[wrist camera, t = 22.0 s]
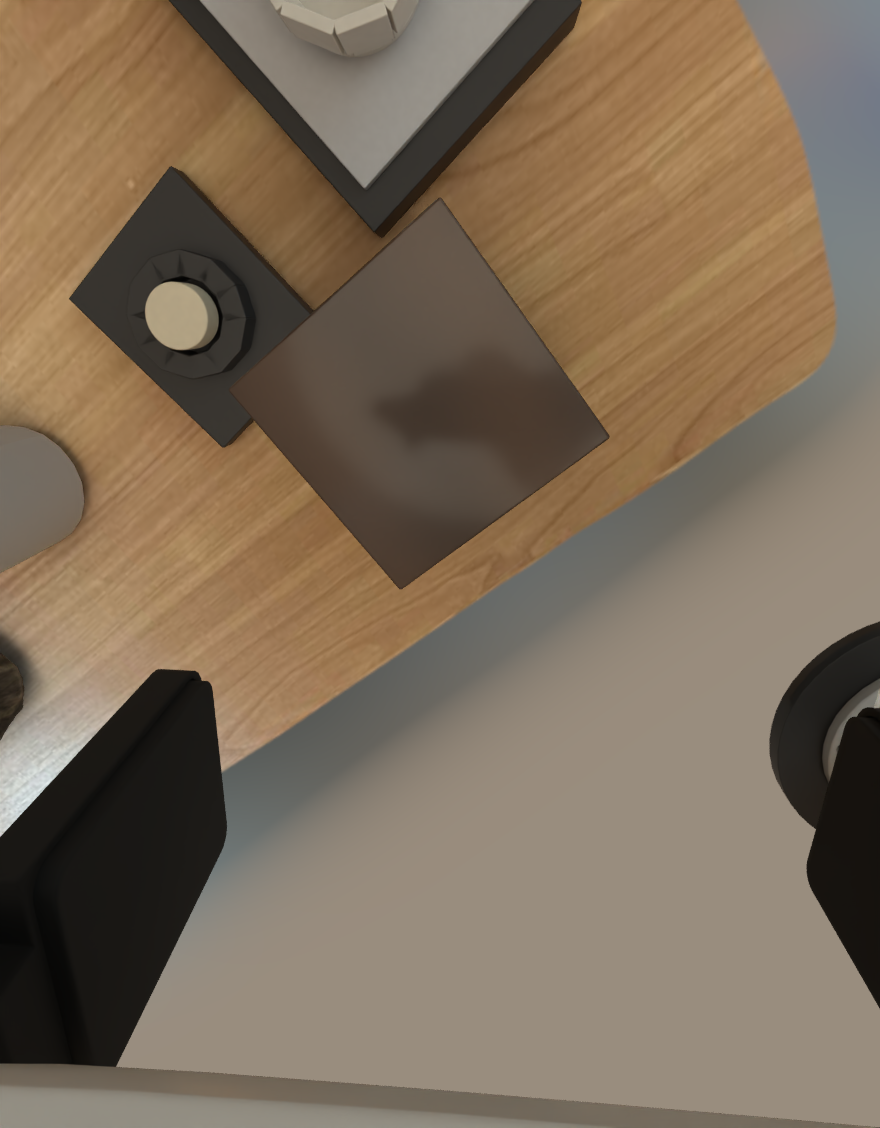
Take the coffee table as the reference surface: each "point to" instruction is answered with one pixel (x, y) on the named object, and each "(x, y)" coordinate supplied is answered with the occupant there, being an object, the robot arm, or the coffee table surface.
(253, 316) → the pad
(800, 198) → the coffee table surface
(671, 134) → the coffee table surface
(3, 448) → the can
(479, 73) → the scale
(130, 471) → the coffee table surface
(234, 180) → the coffee table surface
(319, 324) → the stand
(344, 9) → the bowl
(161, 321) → the button
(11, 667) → the rock
